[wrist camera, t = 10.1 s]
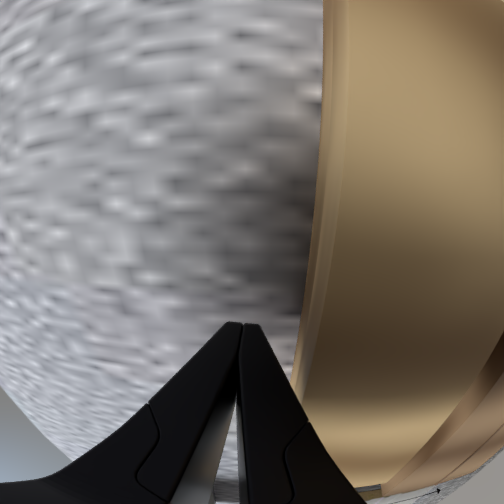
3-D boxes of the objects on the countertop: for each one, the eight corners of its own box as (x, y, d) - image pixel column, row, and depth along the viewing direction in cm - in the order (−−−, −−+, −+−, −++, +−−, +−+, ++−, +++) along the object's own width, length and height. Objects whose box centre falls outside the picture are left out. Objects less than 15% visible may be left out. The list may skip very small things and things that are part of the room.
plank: (378, 439, 13) (386, 482, 10) (277, 444, 13) (275, 491, 10) (494, 46, 5) (555, 39, 2) (321, -9, 5) (343, -60, 3)
